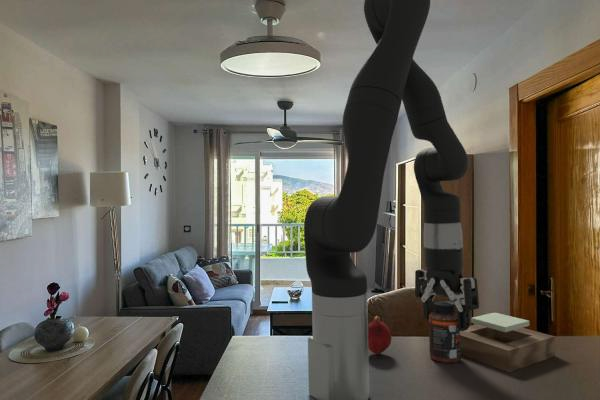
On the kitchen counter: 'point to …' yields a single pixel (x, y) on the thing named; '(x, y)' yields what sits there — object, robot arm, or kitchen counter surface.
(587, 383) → the kitchen counter surface
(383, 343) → the pomegranate
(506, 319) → the plate
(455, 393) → the kitchen counter surface
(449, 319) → the supplement bottle
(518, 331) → the wooden tray
